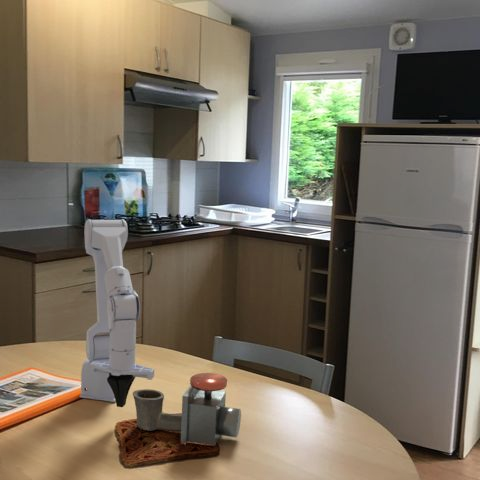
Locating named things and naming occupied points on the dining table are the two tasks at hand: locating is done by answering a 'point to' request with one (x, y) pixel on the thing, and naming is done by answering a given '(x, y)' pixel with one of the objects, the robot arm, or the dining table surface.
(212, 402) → the valve
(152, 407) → the pipe
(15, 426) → the dining table surface
